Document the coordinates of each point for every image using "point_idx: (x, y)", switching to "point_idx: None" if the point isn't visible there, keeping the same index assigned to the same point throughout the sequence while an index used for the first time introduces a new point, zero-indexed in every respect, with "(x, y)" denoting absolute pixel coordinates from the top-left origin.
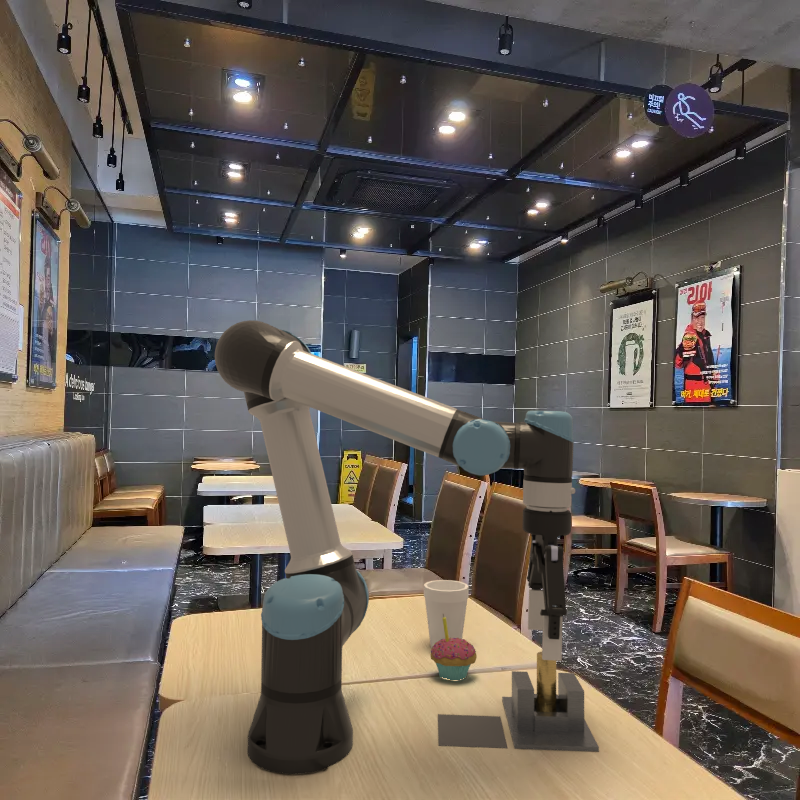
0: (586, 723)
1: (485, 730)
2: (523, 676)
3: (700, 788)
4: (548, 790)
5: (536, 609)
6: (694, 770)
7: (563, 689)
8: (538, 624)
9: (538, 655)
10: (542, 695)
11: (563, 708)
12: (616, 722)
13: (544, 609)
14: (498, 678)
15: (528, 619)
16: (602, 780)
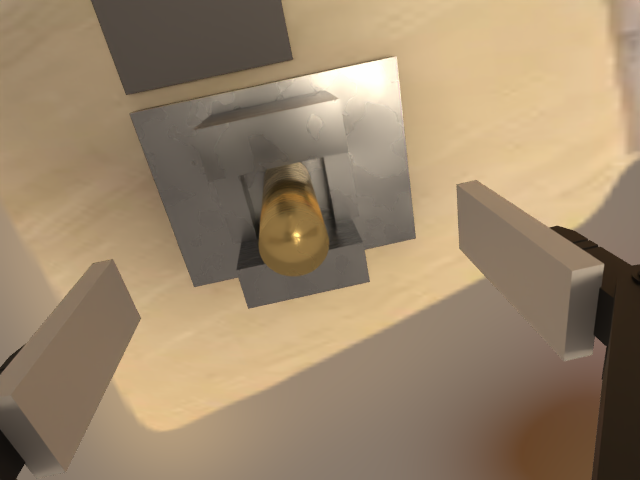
0: None
1: (197, 24)
2: (304, 142)
3: (147, 412)
4: (5, 192)
5: (502, 255)
6: (203, 409)
7: None
8: (468, 233)
9: (279, 218)
10: (263, 192)
11: None
12: (346, 310)
13: (502, 292)
14: (557, 29)
15: (486, 196)
16: None
